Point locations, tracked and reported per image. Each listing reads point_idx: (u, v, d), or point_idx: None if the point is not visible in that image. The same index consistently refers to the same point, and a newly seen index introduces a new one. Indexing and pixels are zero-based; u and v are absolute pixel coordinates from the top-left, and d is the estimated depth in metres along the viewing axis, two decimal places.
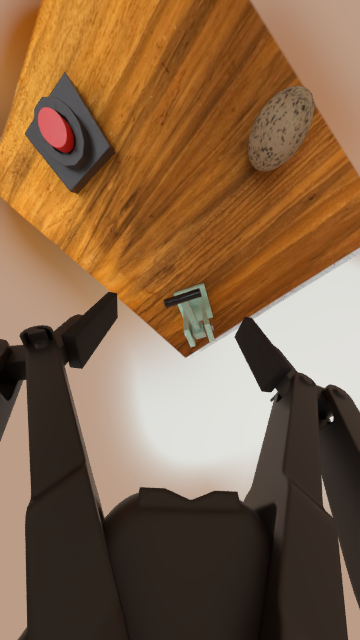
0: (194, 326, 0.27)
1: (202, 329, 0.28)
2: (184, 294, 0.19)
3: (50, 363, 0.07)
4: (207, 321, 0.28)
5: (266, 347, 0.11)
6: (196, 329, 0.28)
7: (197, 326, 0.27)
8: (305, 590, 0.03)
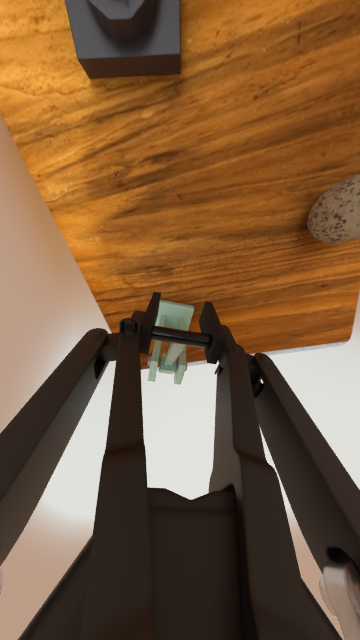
0: (167, 362, 0.20)
1: (173, 367, 0.22)
2: (187, 335, 0.12)
3: (132, 349, 0.09)
4: (184, 361, 0.21)
5: (213, 324, 0.13)
6: (167, 364, 0.21)
7: (170, 363, 0.20)
8: (268, 563, 0.03)
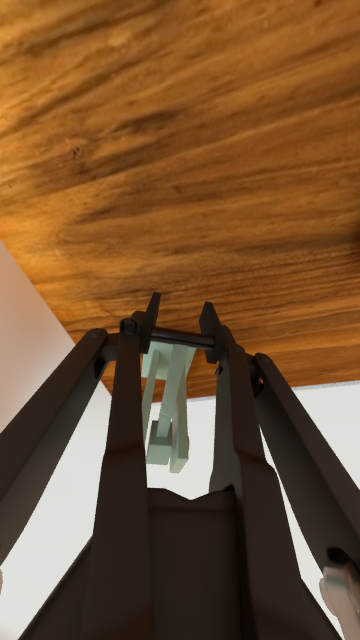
0: (161, 421, 0.14)
1: (170, 439, 0.14)
2: (189, 332, 0.12)
3: (132, 349, 0.09)
4: (185, 447, 0.14)
5: (213, 324, 0.13)
6: (161, 433, 0.14)
7: (166, 425, 0.14)
8: (268, 563, 0.03)
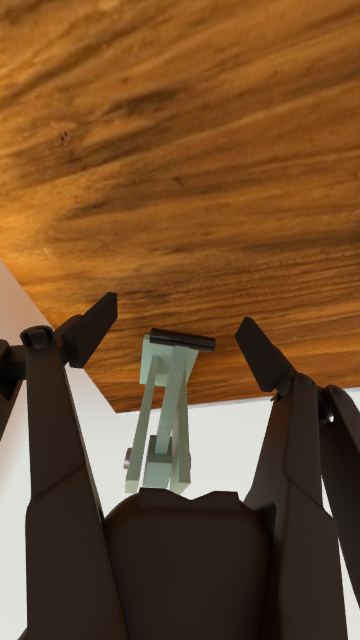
0: (161, 434, 0.13)
1: (170, 455, 0.13)
2: None
3: (50, 363, 0.07)
4: (187, 468, 0.12)
5: (266, 347, 0.11)
6: (160, 448, 0.13)
7: (166, 438, 0.13)
8: (305, 590, 0.03)
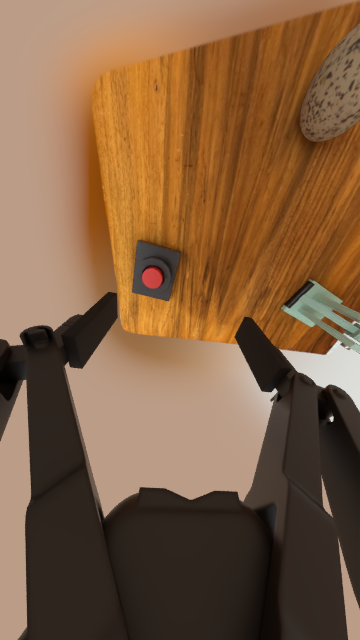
0: (343, 325, 0.24)
1: None
2: (297, 291, 0.25)
3: (50, 363, 0.07)
4: None
5: (266, 347, 0.11)
6: (352, 329, 0.24)
7: (348, 324, 0.24)
8: (305, 590, 0.03)
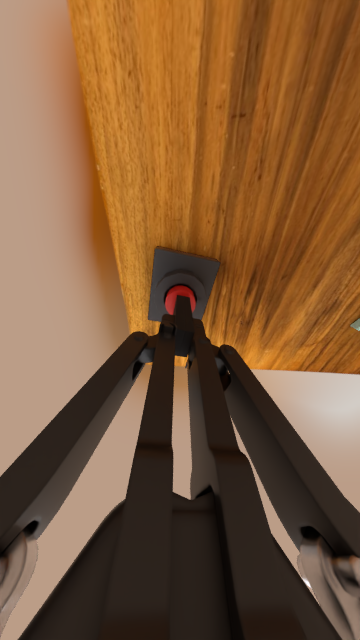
0: None
1: None
2: None
3: (168, 351, 0.09)
4: None
5: (184, 317, 0.13)
6: None
7: None
8: (250, 561, 0.03)
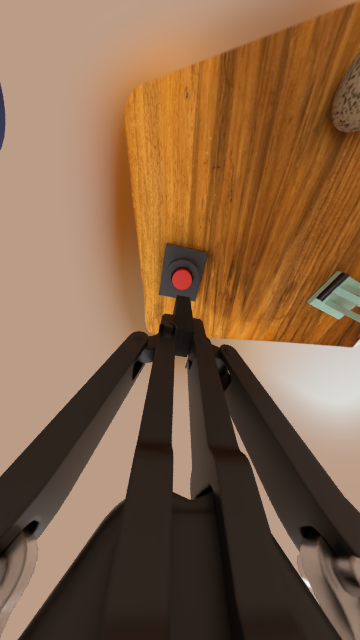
0: None
1: None
2: (330, 283, 0.25)
3: (168, 352, 0.09)
4: None
5: (184, 317, 0.13)
6: None
7: None
8: (250, 561, 0.03)
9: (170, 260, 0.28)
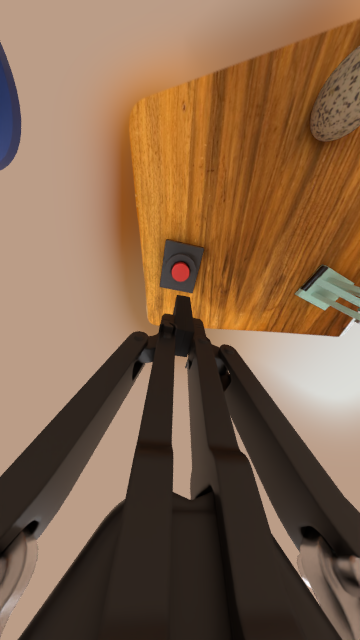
0: (356, 303, 0.27)
1: None
2: (312, 275, 0.28)
3: (168, 351, 0.09)
4: None
5: (184, 317, 0.13)
6: None
7: None
8: (250, 561, 0.03)
9: (169, 255, 0.31)
